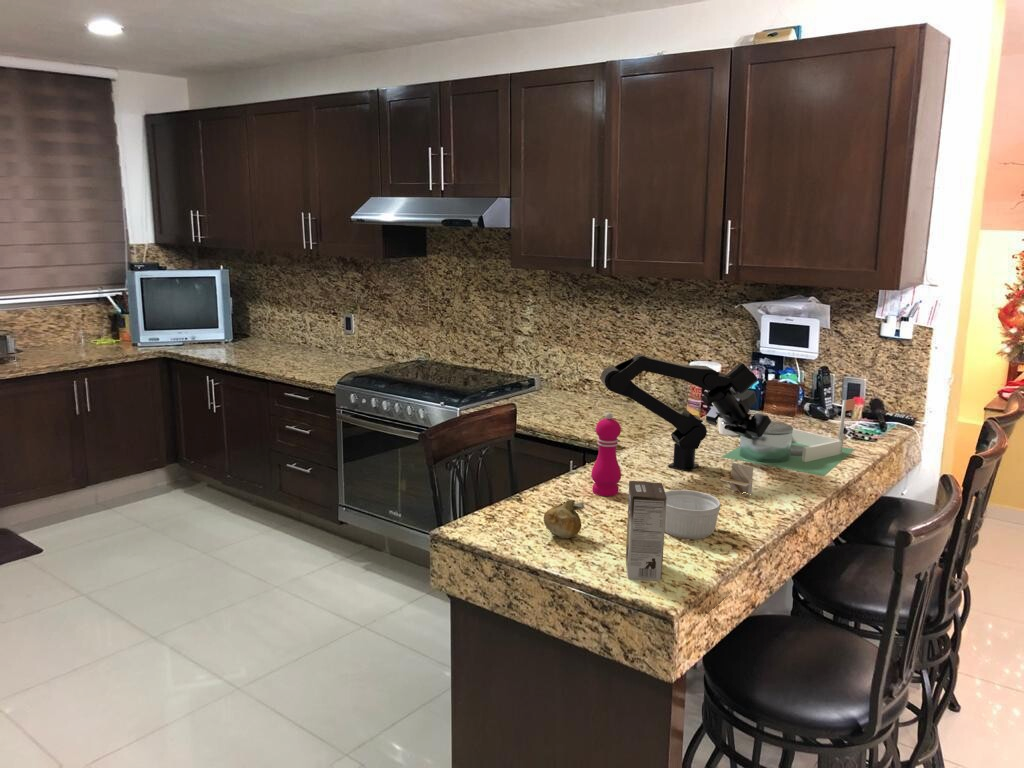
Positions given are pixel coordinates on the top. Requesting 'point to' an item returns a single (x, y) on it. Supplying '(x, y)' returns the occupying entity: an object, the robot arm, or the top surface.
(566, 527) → the onion
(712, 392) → the robot arm
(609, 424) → the pepper mill
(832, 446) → the beige thin-walled piece
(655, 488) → the coffee box
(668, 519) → the ramekin
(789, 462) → the green mat
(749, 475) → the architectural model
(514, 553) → the top surface
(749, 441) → the chrome metal canister
